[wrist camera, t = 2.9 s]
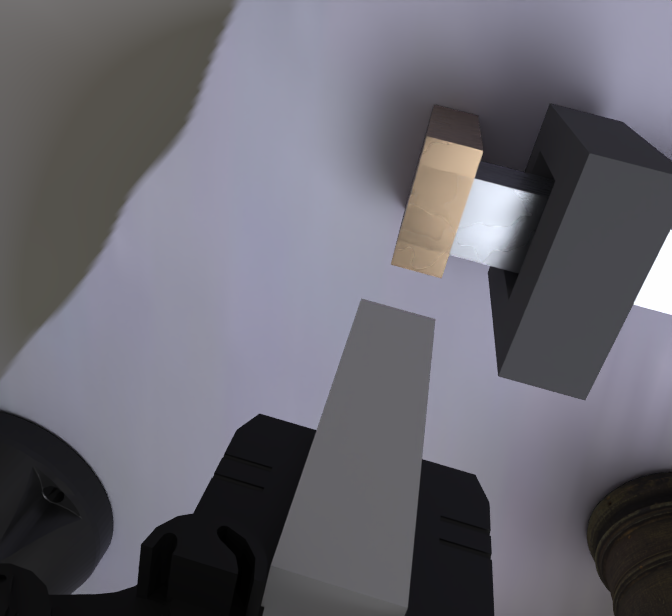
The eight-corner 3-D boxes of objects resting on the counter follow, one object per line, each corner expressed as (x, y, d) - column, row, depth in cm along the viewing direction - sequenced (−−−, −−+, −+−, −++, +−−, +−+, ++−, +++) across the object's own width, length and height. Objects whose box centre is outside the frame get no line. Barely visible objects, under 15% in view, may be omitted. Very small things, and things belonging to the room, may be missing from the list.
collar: (488, 272, 29) (498, 376, 22) (549, 103, 26) (589, 153, 18) (551, 289, 29) (584, 400, 21) (622, 121, 26) (695, 180, 18)
